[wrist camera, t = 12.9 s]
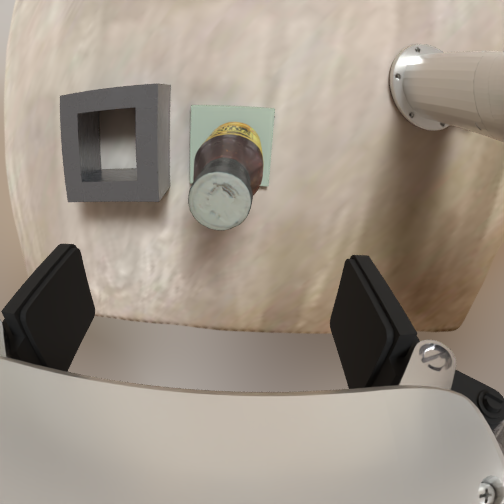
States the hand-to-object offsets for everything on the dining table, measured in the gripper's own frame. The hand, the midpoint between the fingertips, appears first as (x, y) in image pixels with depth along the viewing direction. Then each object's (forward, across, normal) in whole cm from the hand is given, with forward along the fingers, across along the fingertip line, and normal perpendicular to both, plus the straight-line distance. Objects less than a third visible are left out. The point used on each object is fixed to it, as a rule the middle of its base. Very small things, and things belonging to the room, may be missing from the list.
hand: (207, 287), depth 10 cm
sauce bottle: (+30, 0, 0) cm, 30 cm away
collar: (+30, +14, -1) cm, 33 cm away
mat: (+30, 0, 0) cm, 30 cm away
